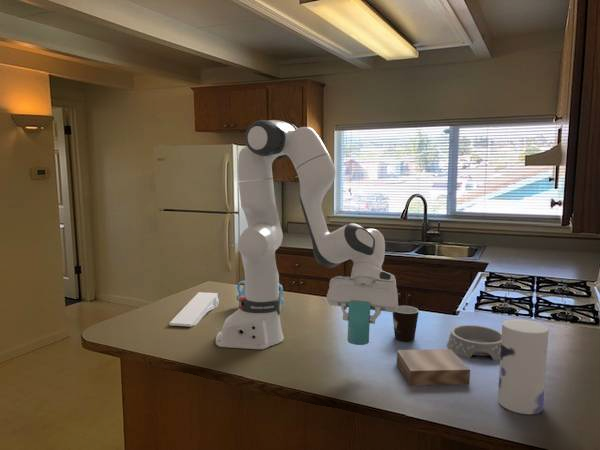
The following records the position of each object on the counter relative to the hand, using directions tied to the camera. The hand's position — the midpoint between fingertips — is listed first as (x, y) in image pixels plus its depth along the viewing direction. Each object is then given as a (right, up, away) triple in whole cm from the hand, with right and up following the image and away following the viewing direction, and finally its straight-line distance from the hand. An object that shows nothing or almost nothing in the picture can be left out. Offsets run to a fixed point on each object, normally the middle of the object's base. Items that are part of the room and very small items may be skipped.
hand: (358, 321), depth 131 cm
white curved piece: (-56, -9, +51) cm, 77 cm away
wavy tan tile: (+21, -15, +1) cm, 25 cm away
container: (+37, -17, -16) cm, 44 cm away
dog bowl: (+40, -13, +19) cm, 46 cm away
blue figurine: (-32, -7, +60) cm, 68 cm away
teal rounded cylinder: (0, -6, +1) cm, 6 cm away
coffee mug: (+19, -11, +29) cm, 37 cm away
